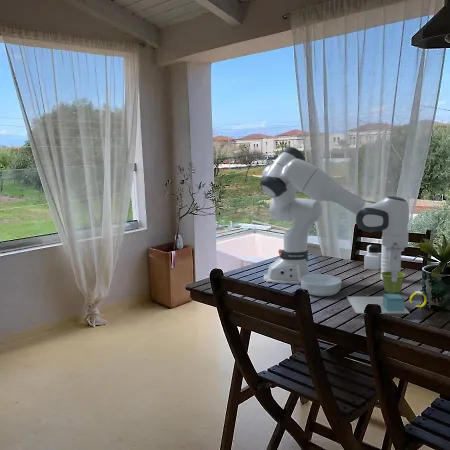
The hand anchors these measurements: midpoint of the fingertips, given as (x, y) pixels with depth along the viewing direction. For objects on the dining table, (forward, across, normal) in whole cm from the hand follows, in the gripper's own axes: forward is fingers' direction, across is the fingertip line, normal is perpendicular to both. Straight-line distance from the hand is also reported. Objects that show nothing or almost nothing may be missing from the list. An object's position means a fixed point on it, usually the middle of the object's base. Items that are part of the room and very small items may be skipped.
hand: (393, 277), depth 161 cm
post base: (+13, +2, +6) cm, 15 cm away
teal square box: (+12, 0, 0) cm, 12 cm away
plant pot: (+14, +23, 0) cm, 26 cm away
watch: (+13, +8, -9) cm, 18 cm away
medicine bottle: (+14, +65, +9) cm, 67 cm away
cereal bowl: (+14, +13, +28) cm, 34 cm away
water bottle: (+14, +46, +2) cm, 48 cm away
